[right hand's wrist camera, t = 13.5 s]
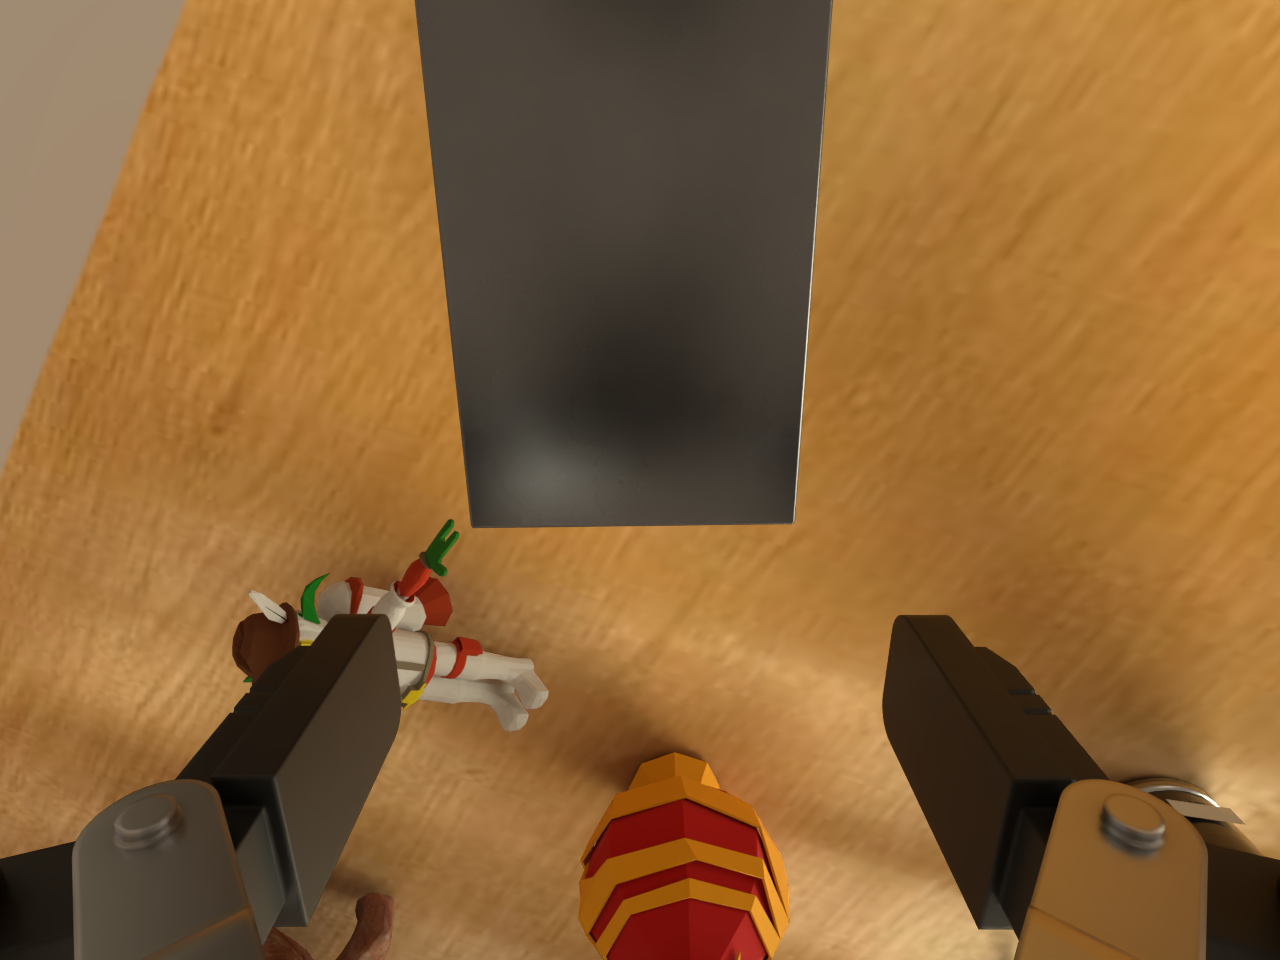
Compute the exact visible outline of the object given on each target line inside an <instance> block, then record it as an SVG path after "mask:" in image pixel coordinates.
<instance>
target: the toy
mask: <svg viewBox="0 0 1280 960" xmlns="http://www.w3.org/2000/svg"><path fill="white" fill-rule="evenodd" d="M453 527H454V520H452V519H450V520H448V521H447V522H446V524H445V525H444V526H443V528H442V529H441V530H440V532H439V533H438V535H437V536H436V537H435V539H434V540H433V542H432V543H431V545H430V546H429V547H428V549H427V550H426V552H421V553H420V555H419V559H418V560H416V561H414V562H413V563H412V564H411V565H410V566H409V568H408V569H407V571H406V573H405V575H404V577H403V579H402V580H395V581H393V582H392V584H391V587H390V591H388V590H383V589H378V588H373V587H369V586H364V585H363V583H362V580H361V578H354V577H351V578H349V579H347V580H346V581H339V582H335V583H332V584H330V585H329V586H327V587H326V588H325V589H324V590H323V591H322V592H320V595H319V598H318V601H317V608H318V611H317V612H316V610H315V605H314V598H315V591H316V589H317V587H318V586H319V584H320V583H321V581H322V580H323V579H324V578H325V577H326V576H327V575H328V574H329V573H328V574H326V575H324V576H321V577H319V578H317V579H315V580H314V581H312V582H311V583H310V584H308V585H307V586H306V587H305V590H304V592H303V595H302V597H301V610H302V611H299V610H294V609H293V607H292V606H291V605H289V604H288V603H287V602H286V603H282V604H281V605H279V606H278V605H277V604H276V603H274V602H273V601H272V600H270V599H269V598H267V597H266V596H265V595H263V594H262V593H259V592H256V591H254V590H251V591H250V592H249V593H248V595H249V596H250V597H251V598H252V600H253V601H254V602H255V603H256V604H257V606H258V607H259V608H260V609H261V611H262V612H263V613H257V614H252V615H250V616H248V617H247V618H246V619H245V620H244V621H242V622H240V623H239V625H238V627H237V630H236V632H235V635H234V637H233V646H232V655H233V658H234V660H235V663H236V665H237V666H238V667H239V668H240V669H241V670H242V671H243V672H244V673H245V674H246V675H248V677H246V679H245V680H244V681H243V682H252V685H253V684H254V683H255V682H256V681H257V679H258V678H259V677H260V676H261V674H262V673H263V672H264V671H265V670H266V668H267V667H268V666H269V665H270V664H272V663H273V662H275V661H276V660H278V659H279V658H281V657H282V656H284V655H285V654H287V653H288V652H290V651H291V650H293V649H294V648H296V647H297V646H310V645H311V644H312V643H313V642H314V640H315V639H316V638H317V636H318V635H319V634H320V632H321V631H322V630H323V628H324V627H325V626H326V625H327V623H328V622H329V621H330V619H331V618H332V617H333V616H334V615H336V614H385V615H387V617H388V618H389V620H390V623H391V628H392V635H393V642H394V649H395V656H396V664H397V671H398V678H399V685H400V693H401V706H402V707H403V710H406V709H407V708H408V707H409V706H410V705H411V704H413V703H416V701H417V700H427V701H437V702H446V703H452V704H454V703H458V702H480V703H483V704H486V705H488V706H490V707H491V708H492V709H493V710H494V711H495V712H496V714H497V716H498V719H499V721H500V723H501V726H502V727H503V728H504V730H506V731H510V732H513V731H517V730H519V729H521V728H522V727H523V726H524V725H525V724H526V722H527V719H528V715H529V714H528V712H527V711H526V709H536V708H539V707H541V706H542V705H543V703H544V702H545V701H546V699H547V697H548V694H549V691H548V689H547V688H546V687H545V685H544V684H543V683H542V681H541V680H540V679H539V677H538V676H537V675H536V673H535V672H534V664H533V662H532V660H531V659H529V658H515V657H509V656H503V655H498V654H494V653H489V652H485V651H482V647H481V646H480V644H479V642H478V641H476V640H473V639H467V638H462V637H458V638H456V639H455V640H454V641H453V642H447V643H446V642H438V641H433V638H432V636H431V635H430V634H429V633H428V632H425V631H422V630H420V629H421V628H422V626H423V624H426V625H437V626H445V625H446V623H447V621H448V619H449V617H450V615H451V613H452V607H451V603H450V599H449V594H448V592H447V591H446V590H445V588H444V587H443V586H442V584H441V583H440V582H439V580H438V579H435V578H430V577H429V576H430V573H431V570H433V571H434V572H435V573H437V574H438V575H439V576H446V574H447V568H446V567H444V566H443V565H442V564H441V561H442V558H443V557H444V556H445V554H446V553H447V552H448V551H449V549H450V548H451V547H452V546H453V544H454V543H455V542H456V541H457V539H458V538H459V532H457V531H454V532H453V533H452V535H451V536H450V537H449V538H448V539H447V540H446V541H445V537H446V536H447V535H448V533H449V532H450V531H451V529H452V528H453ZM491 679H499V680H491ZM514 690H516V691H517V693H518V695H519V698H520V700H521V702H520V701H519V699H518V698H517V697H516V695H515V694H514ZM521 703H522V704H523V705H522V704H521ZM523 706H524V707H523ZM525 708H526V709H525Z"/></svg>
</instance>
